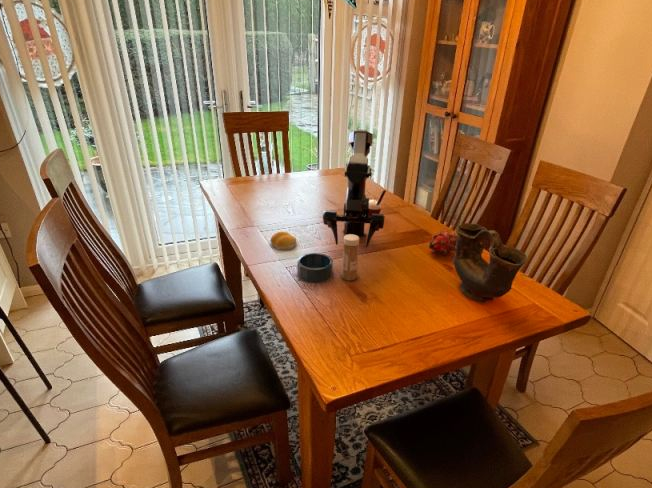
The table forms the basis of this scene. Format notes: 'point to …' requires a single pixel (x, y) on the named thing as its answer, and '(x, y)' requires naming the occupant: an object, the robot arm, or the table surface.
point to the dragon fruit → (443, 243)
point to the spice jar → (350, 256)
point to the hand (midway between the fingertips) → (351, 245)
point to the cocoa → (375, 205)
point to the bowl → (315, 267)
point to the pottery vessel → (485, 263)
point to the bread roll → (283, 240)
